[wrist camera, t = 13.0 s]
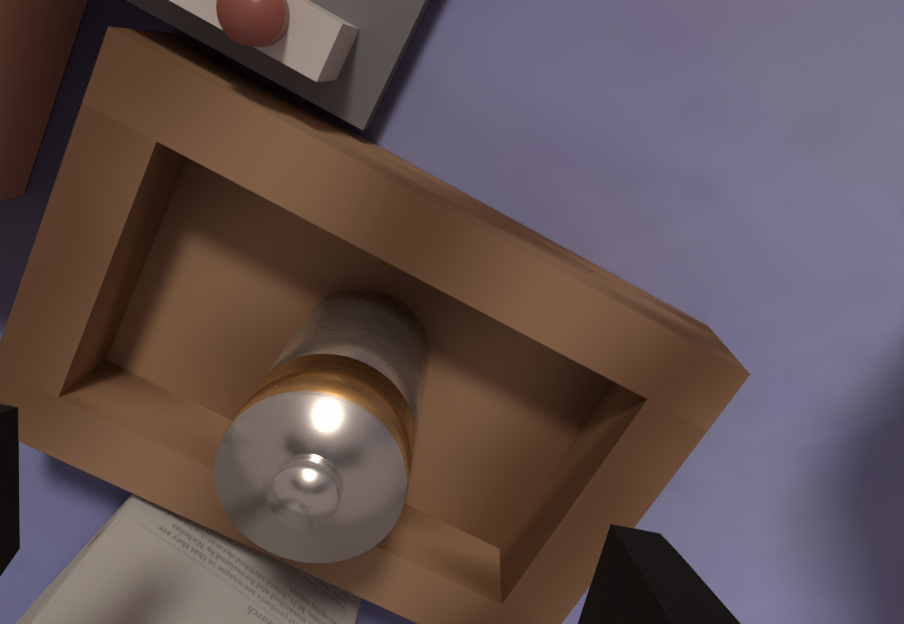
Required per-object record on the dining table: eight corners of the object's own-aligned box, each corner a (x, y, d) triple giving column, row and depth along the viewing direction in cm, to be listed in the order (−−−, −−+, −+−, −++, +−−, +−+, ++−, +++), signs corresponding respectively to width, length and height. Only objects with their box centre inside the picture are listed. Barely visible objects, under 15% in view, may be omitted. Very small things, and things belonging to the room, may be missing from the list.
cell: (437, 296, 18) (412, 422, 11) (423, 419, 19) (395, 593, 13) (299, 280, 18) (201, 396, 11) (294, 404, 19) (202, 570, 13)
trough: (708, 326, 18) (750, 374, 15) (518, 592, 21) (524, 672, 18) (172, 33, 16) (107, 26, 14) (47, 369, 19) (-27, 420, 17)
